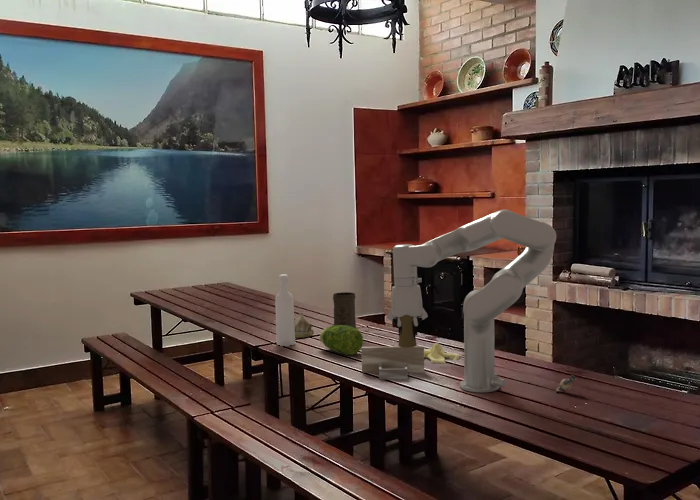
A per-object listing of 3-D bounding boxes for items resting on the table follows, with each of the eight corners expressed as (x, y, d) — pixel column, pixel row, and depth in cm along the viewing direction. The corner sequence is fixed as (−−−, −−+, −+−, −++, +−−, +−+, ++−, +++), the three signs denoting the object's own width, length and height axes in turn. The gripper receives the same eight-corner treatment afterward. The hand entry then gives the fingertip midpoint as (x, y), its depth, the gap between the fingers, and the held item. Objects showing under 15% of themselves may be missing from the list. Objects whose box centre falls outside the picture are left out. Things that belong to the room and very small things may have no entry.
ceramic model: (288, 332, 301) (288, 311, 300) (312, 330, 303) (311, 309, 302) (291, 338, 287) (290, 316, 287) (316, 337, 289) (315, 315, 288)
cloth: (433, 349, 262) (433, 335, 262) (470, 357, 249) (470, 342, 248) (395, 360, 247) (395, 344, 247) (433, 369, 234) (433, 352, 233)
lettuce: (333, 345, 271) (332, 319, 270) (367, 353, 256) (367, 325, 255) (312, 350, 264) (311, 323, 263) (346, 359, 249) (345, 330, 248)
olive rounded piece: (415, 347, 209) (414, 313, 208) (397, 347, 210) (395, 314, 209) (417, 343, 214) (416, 310, 214) (399, 343, 216) (398, 310, 215)
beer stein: (357, 339, 281) (356, 293, 281) (332, 340, 282) (331, 294, 281) (357, 334, 297) (356, 291, 296) (334, 334, 297) (333, 291, 297)
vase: (579, 392, 201) (579, 374, 200) (571, 397, 197) (571, 379, 196) (563, 388, 205) (562, 370, 204) (555, 394, 201) (554, 375, 200)
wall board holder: (362, 371, 230) (361, 346, 230) (424, 371, 229) (423, 346, 228) (361, 379, 220) (360, 353, 220) (425, 379, 219) (425, 353, 218)
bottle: (298, 343, 277) (296, 274, 274) (287, 347, 270) (285, 276, 268) (284, 341, 281) (281, 273, 279) (272, 345, 275) (270, 275, 272)
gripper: (430, 279, 214) (432, 334, 215) (380, 281, 215) (383, 336, 216) (432, 282, 206) (434, 339, 208) (380, 284, 207) (382, 341, 209)
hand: (408, 337), depth 212 cm, fingers closed on olive rounded piece, 3 cm apart
